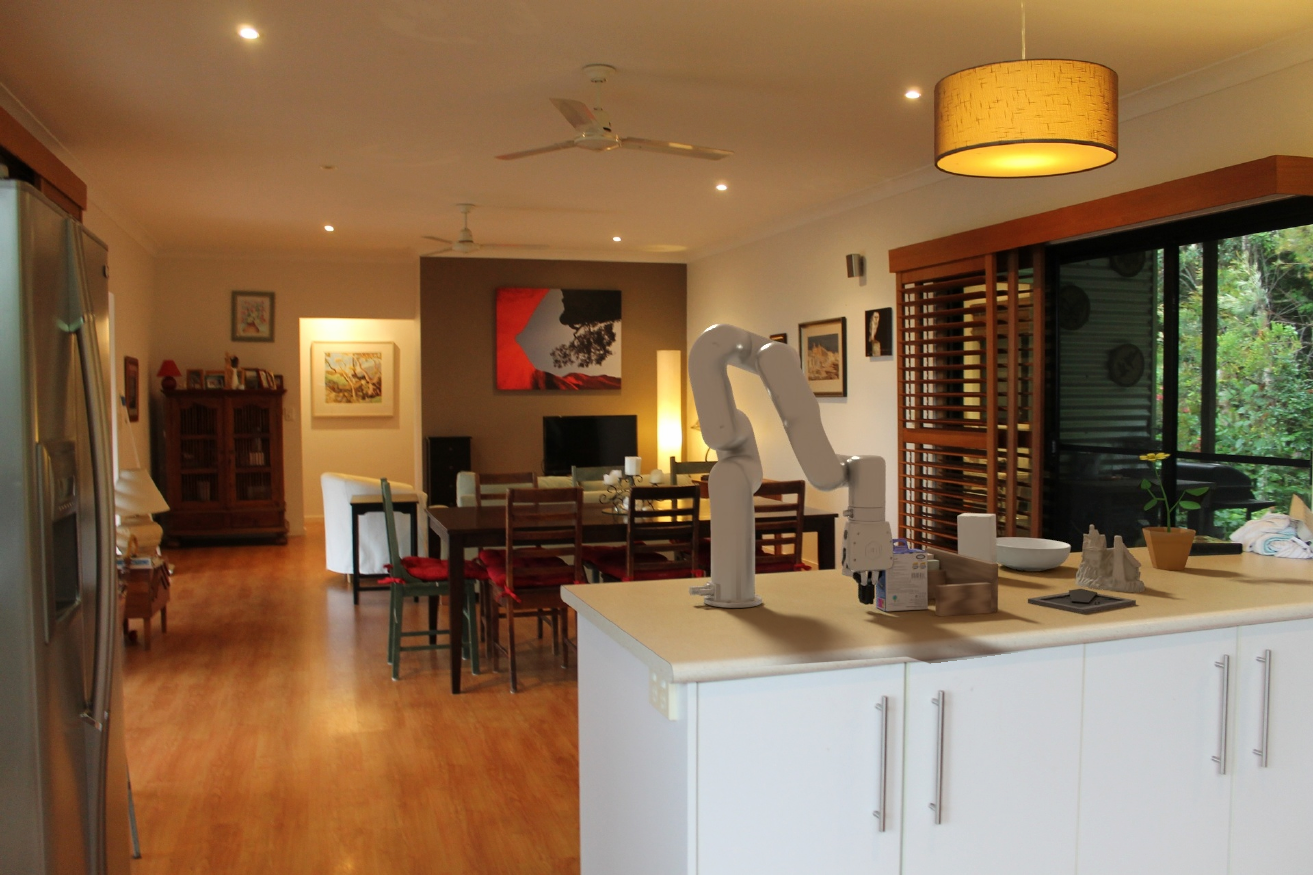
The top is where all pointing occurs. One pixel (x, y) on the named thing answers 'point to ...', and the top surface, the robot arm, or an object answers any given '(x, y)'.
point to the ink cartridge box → (904, 581)
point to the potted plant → (1169, 542)
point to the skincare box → (977, 536)
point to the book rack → (961, 583)
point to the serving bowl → (1031, 553)
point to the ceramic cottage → (1108, 565)
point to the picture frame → (1081, 601)
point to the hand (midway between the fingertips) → (866, 603)
